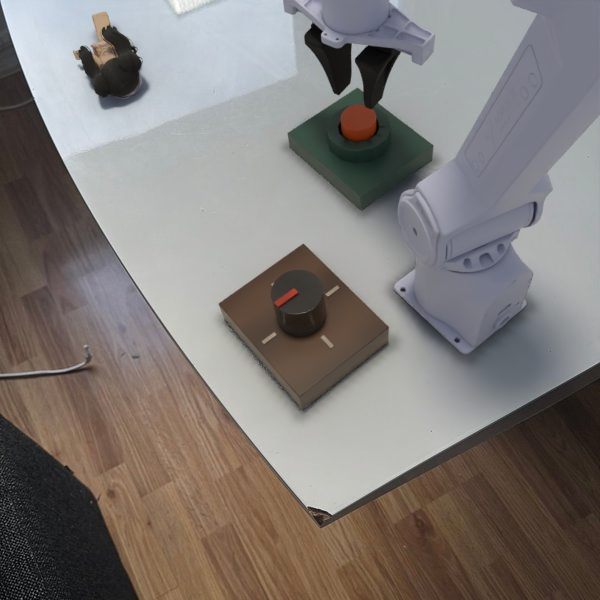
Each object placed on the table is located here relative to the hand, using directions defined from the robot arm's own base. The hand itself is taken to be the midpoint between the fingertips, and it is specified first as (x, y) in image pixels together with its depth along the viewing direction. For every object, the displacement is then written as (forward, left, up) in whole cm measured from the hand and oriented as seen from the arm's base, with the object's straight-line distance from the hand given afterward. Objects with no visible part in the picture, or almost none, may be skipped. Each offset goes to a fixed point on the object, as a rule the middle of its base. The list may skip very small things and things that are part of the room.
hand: (357, 95), depth 64 cm
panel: (-13, +18, -8) cm, 24 cm away
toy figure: (+32, +13, -8) cm, 36 cm away
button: (0, 0, -5) cm, 5 cm away
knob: (-13, +18, -5) cm, 23 cm away
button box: (0, 0, -8) cm, 8 cm away
